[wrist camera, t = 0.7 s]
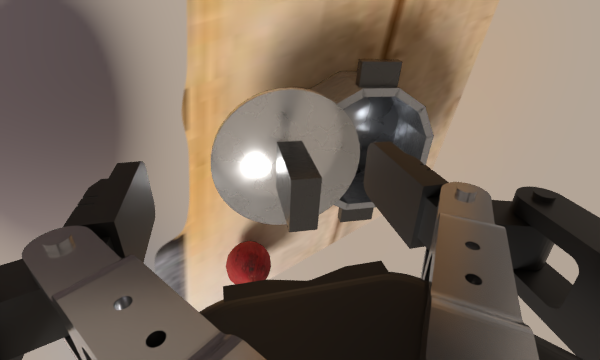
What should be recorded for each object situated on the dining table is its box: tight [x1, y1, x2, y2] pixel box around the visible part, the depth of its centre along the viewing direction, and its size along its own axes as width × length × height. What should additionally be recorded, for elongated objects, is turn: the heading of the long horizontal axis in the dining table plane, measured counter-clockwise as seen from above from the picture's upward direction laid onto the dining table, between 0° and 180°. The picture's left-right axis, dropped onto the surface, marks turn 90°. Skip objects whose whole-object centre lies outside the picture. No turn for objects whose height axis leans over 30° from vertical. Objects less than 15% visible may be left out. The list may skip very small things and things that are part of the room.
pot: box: [310, 59, 434, 222], centre depth 38 cm, size 19×14×7 cm
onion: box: [226, 241, 271, 284], centre depth 43 cm, size 6×6×8 cm
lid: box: [211, 87, 360, 232], centre depth 29 cm, size 15×15×8 cm
